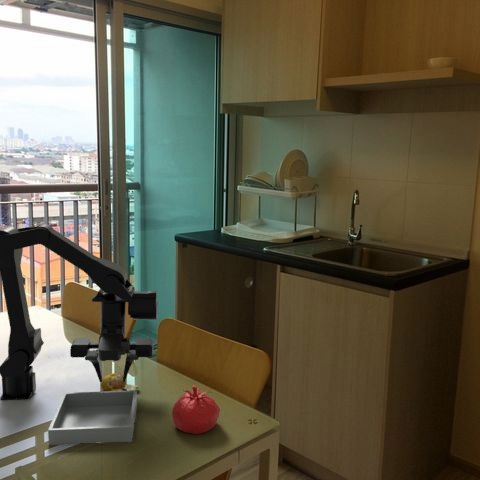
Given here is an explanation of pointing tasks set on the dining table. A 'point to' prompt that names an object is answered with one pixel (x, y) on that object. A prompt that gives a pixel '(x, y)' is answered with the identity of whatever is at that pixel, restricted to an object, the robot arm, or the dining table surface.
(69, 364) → the dining table surface
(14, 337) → the robot arm
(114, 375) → the fruit
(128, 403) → the serving bin
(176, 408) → the pomegranate
